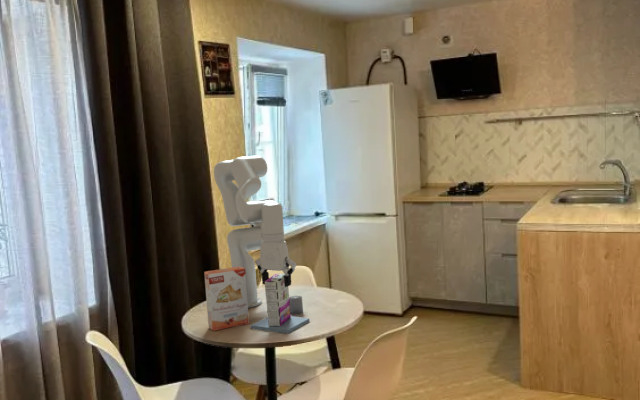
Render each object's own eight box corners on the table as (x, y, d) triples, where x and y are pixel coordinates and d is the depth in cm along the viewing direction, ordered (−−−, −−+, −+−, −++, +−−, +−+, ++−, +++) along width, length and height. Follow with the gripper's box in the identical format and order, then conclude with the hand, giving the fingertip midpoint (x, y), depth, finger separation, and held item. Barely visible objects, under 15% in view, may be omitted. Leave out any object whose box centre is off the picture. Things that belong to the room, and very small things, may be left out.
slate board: (250, 328, 203) (250, 325, 203) (273, 317, 215) (273, 314, 215) (287, 333, 195) (287, 330, 195) (309, 321, 207) (309, 318, 207)
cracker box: (213, 331, 203) (208, 274, 201) (208, 327, 208) (203, 271, 206) (250, 323, 209) (245, 267, 207) (244, 319, 214) (240, 265, 212)
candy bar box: (278, 316, 211) (275, 273, 210) (291, 317, 210) (288, 273, 208) (267, 326, 200) (263, 280, 199) (280, 326, 199) (277, 280, 197)
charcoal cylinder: (287, 313, 218) (286, 298, 218) (294, 310, 223) (293, 295, 222) (298, 315, 216) (297, 299, 215) (305, 311, 220) (304, 296, 220)
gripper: (247, 238, 203) (251, 285, 205) (287, 240, 194) (290, 289, 196) (260, 234, 210) (263, 280, 212) (299, 236, 201) (302, 284, 203)
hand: (276, 284), depth 204 cm, fingers open, 9 cm apart
